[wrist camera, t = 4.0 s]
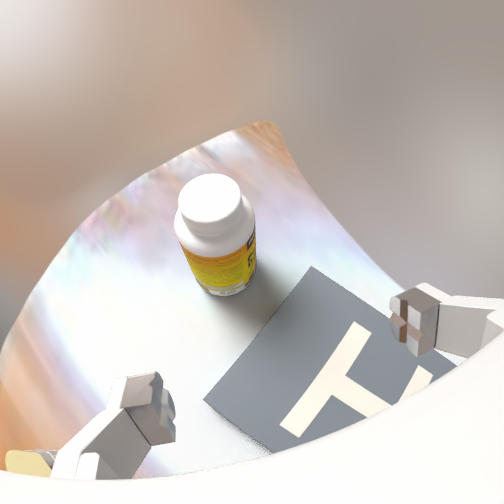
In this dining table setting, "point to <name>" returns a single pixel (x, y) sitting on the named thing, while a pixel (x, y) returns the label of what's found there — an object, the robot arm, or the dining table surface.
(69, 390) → the dining table surface
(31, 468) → the pale yellow block
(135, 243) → the dining table surface
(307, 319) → the gray board
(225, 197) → the supplement bottle
